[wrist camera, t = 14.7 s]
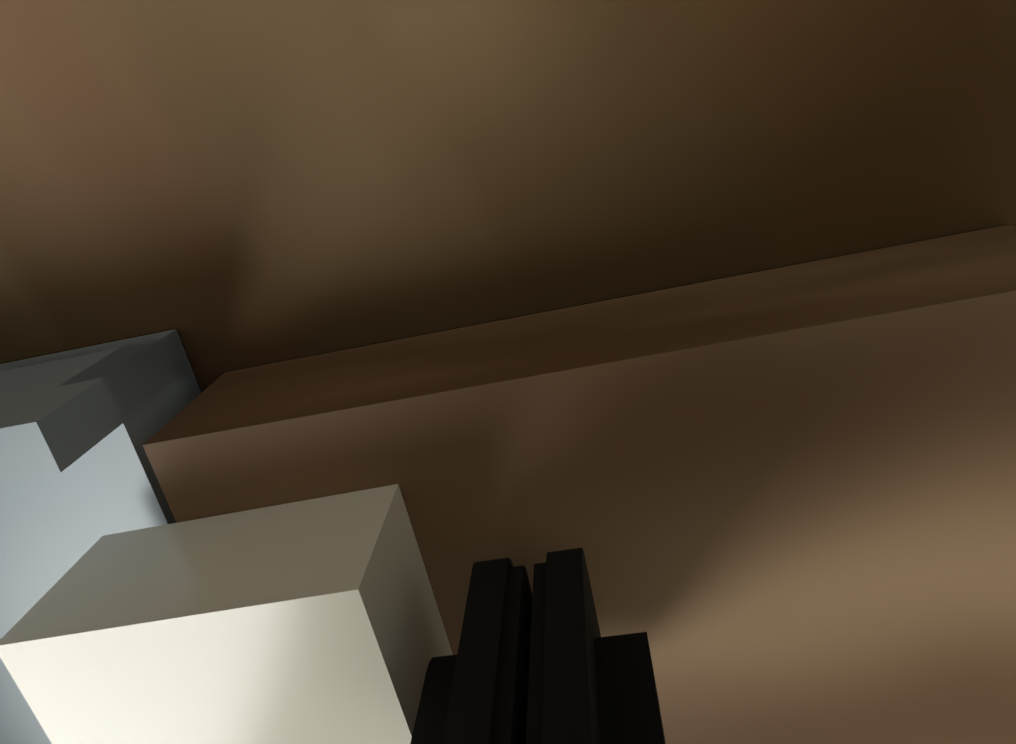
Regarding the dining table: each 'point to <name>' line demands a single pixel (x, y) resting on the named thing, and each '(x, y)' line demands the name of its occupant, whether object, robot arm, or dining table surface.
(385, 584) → the cream tile
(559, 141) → the dining table surface
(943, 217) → the dining table surface
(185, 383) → the tray
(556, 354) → the walnut board
